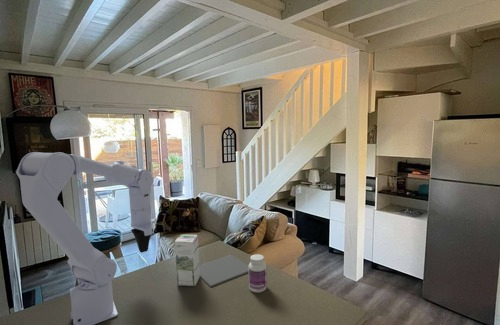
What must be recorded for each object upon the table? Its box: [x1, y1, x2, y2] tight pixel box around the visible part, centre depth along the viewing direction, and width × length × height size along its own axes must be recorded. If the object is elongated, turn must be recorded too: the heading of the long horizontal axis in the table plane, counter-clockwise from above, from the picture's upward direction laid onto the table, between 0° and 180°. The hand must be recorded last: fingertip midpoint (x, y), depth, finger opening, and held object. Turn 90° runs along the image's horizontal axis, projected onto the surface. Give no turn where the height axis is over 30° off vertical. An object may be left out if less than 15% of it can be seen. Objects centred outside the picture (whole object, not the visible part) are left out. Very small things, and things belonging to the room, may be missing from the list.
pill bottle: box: [248, 253, 267, 293], centre depth 80 cm, size 5×5×10 cm
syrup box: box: [174, 234, 201, 287], centre depth 84 cm, size 6×6×14 cm
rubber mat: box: [199, 254, 249, 288], centre depth 92 cm, size 16×14×1 cm
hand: (143, 251), depth 84 cm, fingers closed
